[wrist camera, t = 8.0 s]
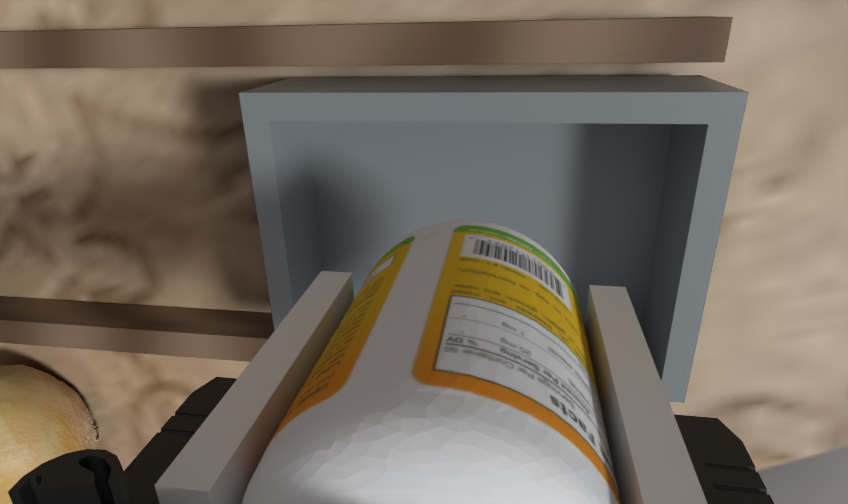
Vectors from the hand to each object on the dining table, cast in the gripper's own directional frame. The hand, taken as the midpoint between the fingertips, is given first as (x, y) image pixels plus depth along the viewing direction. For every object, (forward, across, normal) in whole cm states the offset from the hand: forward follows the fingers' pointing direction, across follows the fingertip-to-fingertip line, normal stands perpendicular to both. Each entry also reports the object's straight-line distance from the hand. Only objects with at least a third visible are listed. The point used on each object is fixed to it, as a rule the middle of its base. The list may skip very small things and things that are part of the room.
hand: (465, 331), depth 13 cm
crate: (+8, 0, 0) cm, 8 cm away
